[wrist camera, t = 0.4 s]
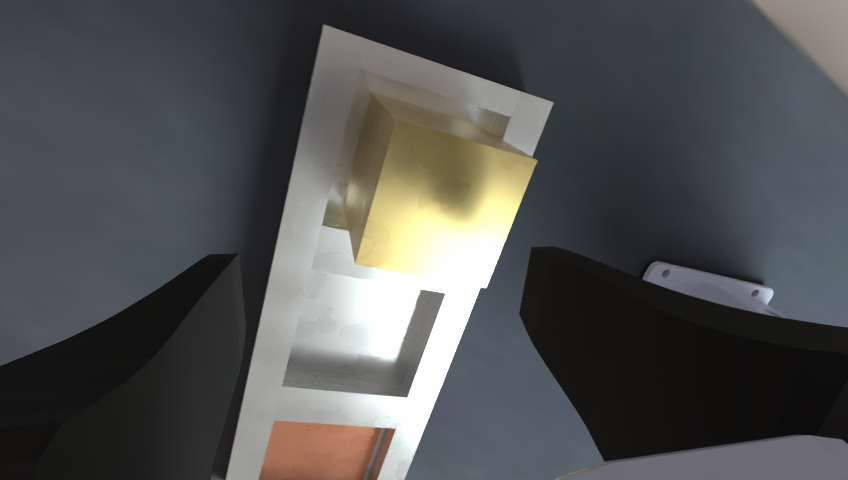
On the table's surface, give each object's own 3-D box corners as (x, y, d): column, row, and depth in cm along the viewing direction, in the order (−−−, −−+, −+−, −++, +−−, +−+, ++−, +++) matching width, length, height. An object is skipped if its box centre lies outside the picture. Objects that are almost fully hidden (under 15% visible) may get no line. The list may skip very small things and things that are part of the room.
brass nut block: (475, 123, 19) (537, 160, 14) (441, 221, 21) (486, 288, 15) (370, 91, 18) (395, 119, 13) (342, 199, 19) (354, 264, 14)
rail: (527, 94, 20) (553, 102, 18) (380, 485, 28) (386, 523, 26) (322, 25, 17) (323, 24, 15) (224, 480, 26) (216, 524, 23)
